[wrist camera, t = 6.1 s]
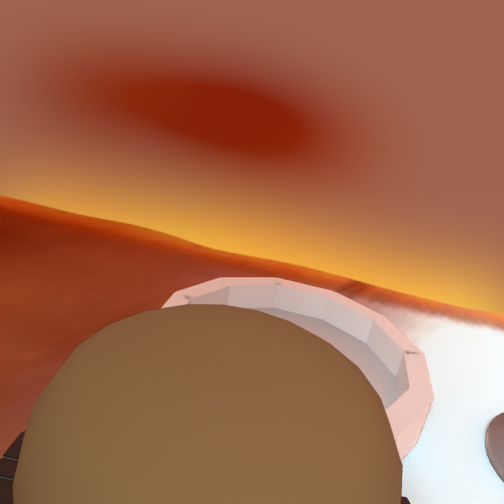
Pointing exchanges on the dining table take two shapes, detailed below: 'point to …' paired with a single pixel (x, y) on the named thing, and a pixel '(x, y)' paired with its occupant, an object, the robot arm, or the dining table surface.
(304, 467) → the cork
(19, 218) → the dining table surface
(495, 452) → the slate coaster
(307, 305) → the pink flat ring
